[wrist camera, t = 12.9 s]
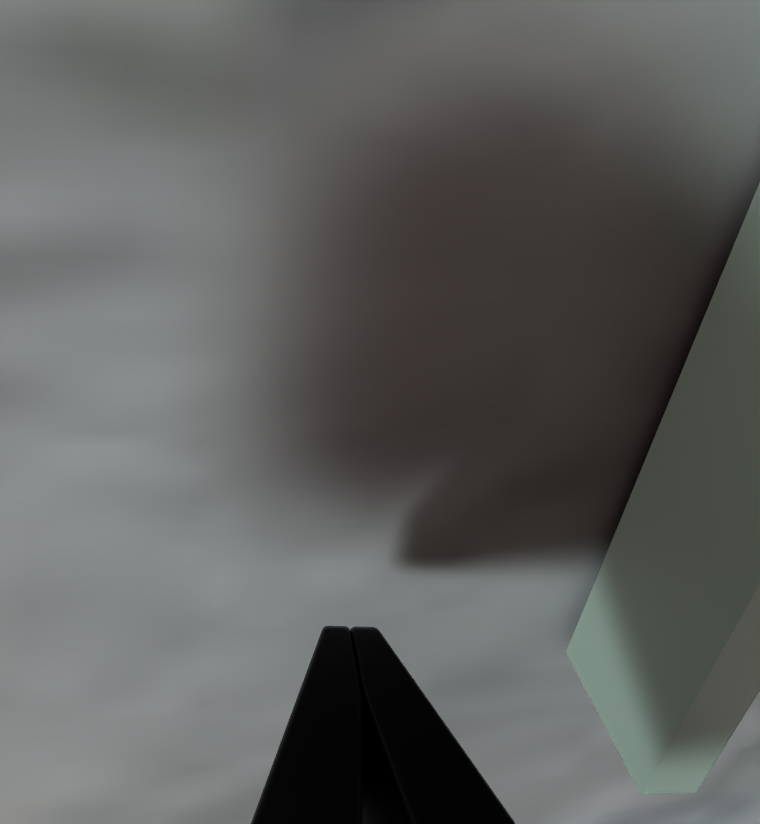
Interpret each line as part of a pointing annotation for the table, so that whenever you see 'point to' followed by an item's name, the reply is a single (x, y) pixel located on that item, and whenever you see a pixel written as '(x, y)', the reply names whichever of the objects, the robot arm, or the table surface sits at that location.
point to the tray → (687, 557)
